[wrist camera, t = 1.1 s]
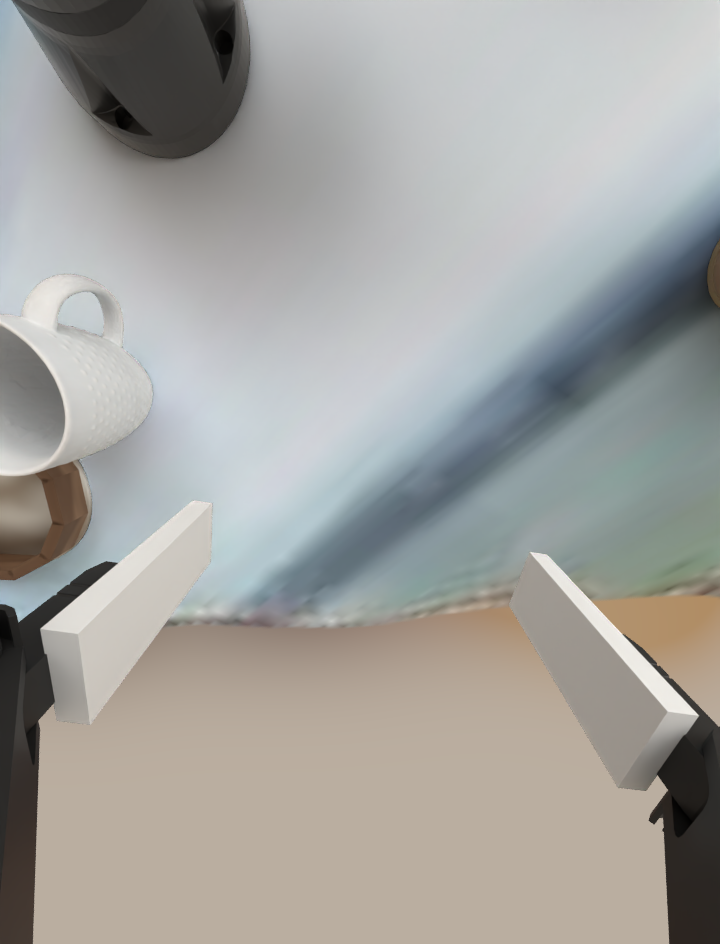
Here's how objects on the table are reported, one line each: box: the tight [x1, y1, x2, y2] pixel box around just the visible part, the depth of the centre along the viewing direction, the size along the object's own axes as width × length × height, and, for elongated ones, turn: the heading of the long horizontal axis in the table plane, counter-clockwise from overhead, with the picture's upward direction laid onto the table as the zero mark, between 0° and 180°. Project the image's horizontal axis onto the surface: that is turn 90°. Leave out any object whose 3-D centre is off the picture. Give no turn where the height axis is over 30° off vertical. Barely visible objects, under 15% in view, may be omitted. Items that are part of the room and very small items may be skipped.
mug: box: [0, 274, 153, 476], centre depth 28 cm, size 15×11×13 cm
